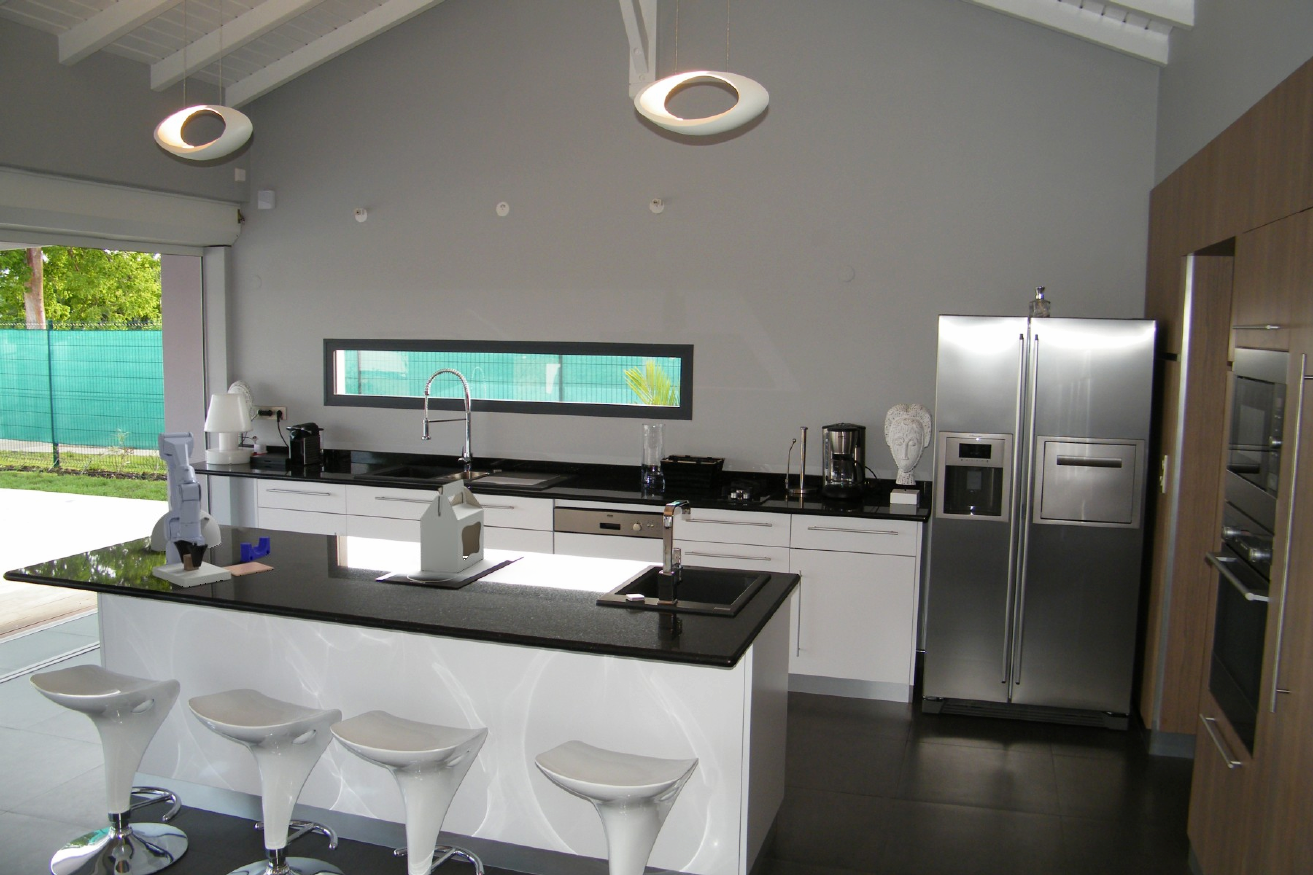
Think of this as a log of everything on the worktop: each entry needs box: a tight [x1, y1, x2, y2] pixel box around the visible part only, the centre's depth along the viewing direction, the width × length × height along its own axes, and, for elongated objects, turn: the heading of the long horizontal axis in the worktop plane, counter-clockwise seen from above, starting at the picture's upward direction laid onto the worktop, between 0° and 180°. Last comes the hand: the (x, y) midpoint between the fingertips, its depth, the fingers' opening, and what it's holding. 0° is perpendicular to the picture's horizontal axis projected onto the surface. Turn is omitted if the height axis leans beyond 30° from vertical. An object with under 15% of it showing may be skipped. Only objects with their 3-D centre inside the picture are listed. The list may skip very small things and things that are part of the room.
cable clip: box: [240, 536, 271, 562], centre depth 317 cm, size 12×4×6 cm, turn 170°
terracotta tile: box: [221, 561, 275, 577], centre depth 300 cm, size 12×12×1 cm
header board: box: [152, 560, 232, 588], centre depth 290 cm, size 22×14×2 cm, turn 51°
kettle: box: [150, 495, 222, 552], centre depth 333 cm, size 25×23×22 cm
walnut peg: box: [183, 554, 199, 571], centre depth 289 cm, size 3×3×7 cm
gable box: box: [419, 478, 485, 573], centre depth 311 cm, size 22×13×28 cm, turn 169°
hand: (191, 564), depth 289 cm, fingers open, 7 cm apart
